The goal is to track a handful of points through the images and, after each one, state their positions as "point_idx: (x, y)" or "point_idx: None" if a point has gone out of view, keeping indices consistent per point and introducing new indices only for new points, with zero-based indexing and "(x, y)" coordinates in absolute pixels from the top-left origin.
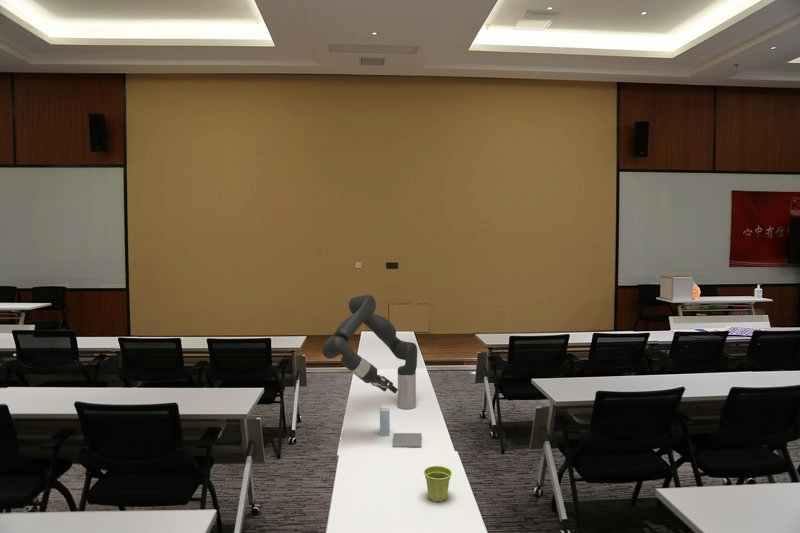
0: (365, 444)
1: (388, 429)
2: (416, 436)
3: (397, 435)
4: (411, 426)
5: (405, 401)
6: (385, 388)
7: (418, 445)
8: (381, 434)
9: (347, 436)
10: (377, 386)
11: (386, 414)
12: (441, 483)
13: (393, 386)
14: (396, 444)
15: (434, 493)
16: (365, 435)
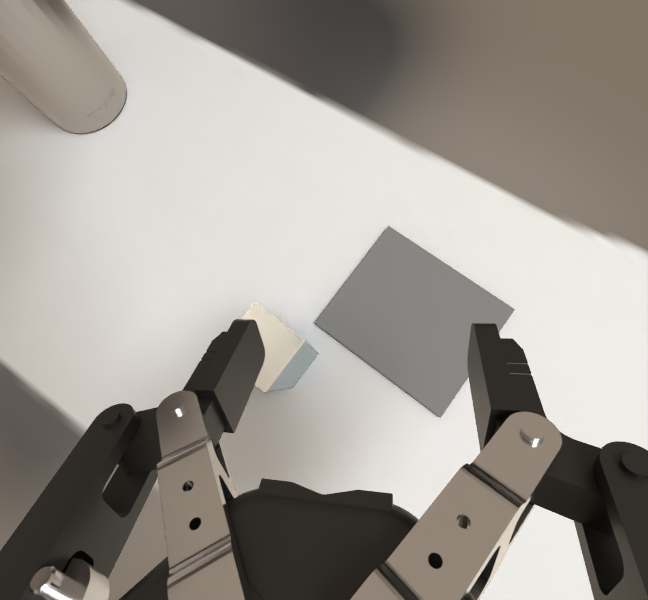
0: None
1: (314, 353)
2: (407, 263)
3: (347, 325)
4: (286, 209)
5: (87, 95)
6: (253, 345)
7: (498, 315)
8: (296, 382)
9: None
10: (225, 461)
11: (297, 355)
12: None
13: (538, 398)
14: (434, 390)
15: None
16: (242, 439)
